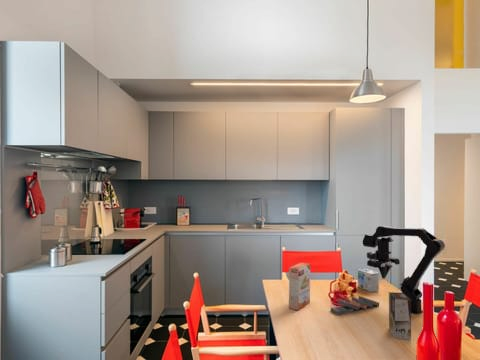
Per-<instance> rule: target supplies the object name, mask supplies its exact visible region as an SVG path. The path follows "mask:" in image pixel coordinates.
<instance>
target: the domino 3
mask: <svg viewBox="0 0 480 360" xmlns="http://www.w3.org/2000/svg"><path fill="white" fill-rule="evenodd" d="M344 301H346V302H348V303H350V304H352V305H355V306H358V307H360V309H361V308H362V309H364V310H366V309H367V307H368V306H366V305H363V304H360V303H357V302H355V301H353V300H351V299H350V298H347V297H346V298H345V300H344Z"/></svg>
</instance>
